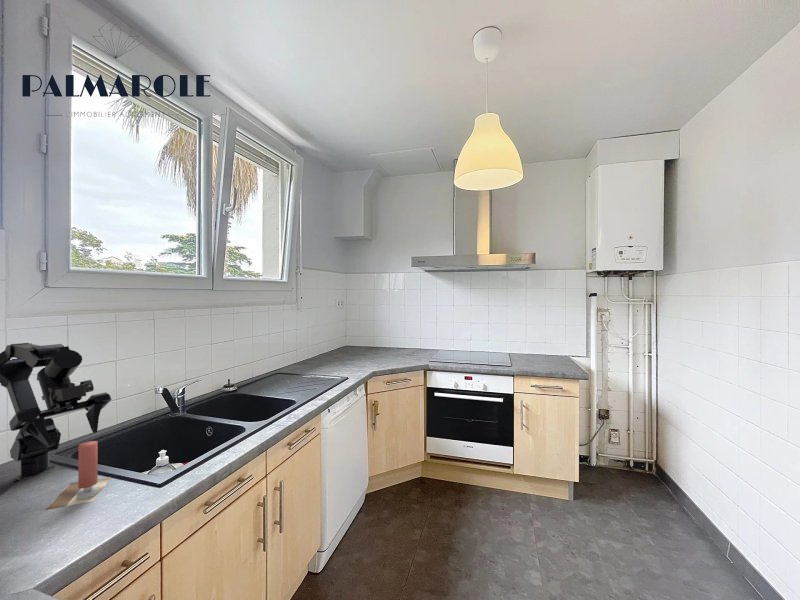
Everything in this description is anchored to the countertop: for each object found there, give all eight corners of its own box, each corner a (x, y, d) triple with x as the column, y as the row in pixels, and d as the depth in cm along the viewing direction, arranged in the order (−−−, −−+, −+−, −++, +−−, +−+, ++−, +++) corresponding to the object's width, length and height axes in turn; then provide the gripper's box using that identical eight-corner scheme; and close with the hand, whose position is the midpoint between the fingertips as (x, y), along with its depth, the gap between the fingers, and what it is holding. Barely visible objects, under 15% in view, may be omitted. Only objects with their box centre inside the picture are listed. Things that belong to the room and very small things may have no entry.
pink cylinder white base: (81, 492, 87) (81, 442, 87) (101, 489, 89) (101, 439, 89) (74, 501, 84) (74, 448, 84) (94, 497, 85) (94, 446, 85)
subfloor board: (69, 487, 92) (69, 483, 92) (111, 481, 95) (111, 476, 95) (44, 514, 81) (44, 509, 81) (93, 505, 84) (93, 500, 84)
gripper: (17, 380, 80) (35, 440, 77) (111, 365, 97) (129, 414, 94) (1, 401, 84) (18, 459, 81) (94, 383, 101) (111, 431, 98)
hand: (73, 439), depth 88 cm, fingers open, 9 cm apart
